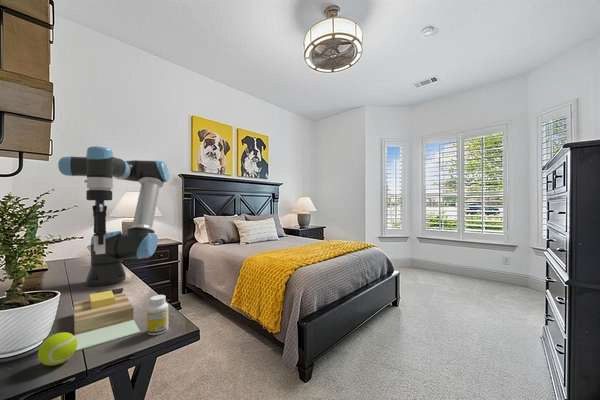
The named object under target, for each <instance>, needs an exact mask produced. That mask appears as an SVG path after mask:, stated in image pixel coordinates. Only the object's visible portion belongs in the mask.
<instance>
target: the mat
mask: <svg viewBox="0 0 600 400" xmlns="http://www.w3.org/2000/svg"><path fill="white" fill-rule="evenodd" d="M140 333H141V330H140V328H139V326H138V325H137V323H136V321H135V320H134V319H133V320H131V321H127V322H123V323H119V324H115V325H111V326H108V327H104V328H100V329H96V330H92V331H88V332H84V333H81V334H77V335H75V334H74V336H75V337H76V339H77V348H76V351H75V352H77V351H78V352H79V351H81V350H82V351H83V350H85V349H88V348H91V347H96V346H100V345H102V344H105V343H108V342H112V341H115V340H120V339H123V338H126V337H129V336H133V335H136V334H140Z"/></svg>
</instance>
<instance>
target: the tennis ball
mask: <svg viewBox="0 0 600 400" xmlns="http://www.w3.org/2000/svg"><path fill="white" fill-rule="evenodd" d="M76 348H77V339H76V337H75V334H73V333H70V332H63V331H62V332H57V333H54V334H52V335H50V336H49V337H47V338H46V339H45V340H44V341H43V342H42V343H41V344H40V346H39V348H38V352H37V357H38V360H39V362H40V363H41V364H42V365H45V366H50V367H52V366H58V365H61V364H63V363H65V362H67V361H68V360H69V359H71V357H72V356H73V355H74V353H75V352H77V351H76Z"/></svg>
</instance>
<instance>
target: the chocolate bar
mask: <svg viewBox="0 0 600 400" xmlns="http://www.w3.org/2000/svg"><path fill="white" fill-rule="evenodd" d="M110 290H112V292H113V294H114V295H116V294H121V293H123V291H124V287H121V288H119V287H118V288H113V289H107V290H106V289H105V290H99V291H96V292H95V293H100V292H105V291H110Z"/></svg>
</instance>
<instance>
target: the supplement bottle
mask: <svg viewBox="0 0 600 400" xmlns="http://www.w3.org/2000/svg"><path fill="white" fill-rule="evenodd" d="M166 299H167V298H166V295H164V294H158V295H154V296H151V297H149V304H150V305H148V307H147V308H146V309H147V311H146V314H147V315H146V318H147V319H146V321H147V322H146V323H147V324H146V326H147V328H146V330H147V331H146V332H147V334H148V335H149V336H158V335H162V334H164V333H166V332H168V330H169V327H170V326H169V325H170V323H169V318H170V317H169V313H170V312H169V304H168V303H167V302H166Z"/></svg>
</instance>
